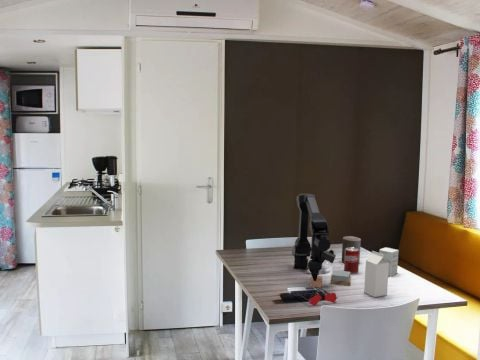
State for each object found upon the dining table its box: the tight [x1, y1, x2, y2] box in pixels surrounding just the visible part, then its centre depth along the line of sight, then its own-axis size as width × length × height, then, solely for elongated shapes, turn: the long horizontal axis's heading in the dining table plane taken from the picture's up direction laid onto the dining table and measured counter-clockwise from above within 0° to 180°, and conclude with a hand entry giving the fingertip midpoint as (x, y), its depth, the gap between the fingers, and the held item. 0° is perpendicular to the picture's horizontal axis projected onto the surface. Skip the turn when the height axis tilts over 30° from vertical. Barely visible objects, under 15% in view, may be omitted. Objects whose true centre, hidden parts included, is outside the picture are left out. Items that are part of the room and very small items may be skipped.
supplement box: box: [378, 246, 400, 277], centre depth 253 cm, size 7×7×13 cm
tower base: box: [330, 275, 352, 287], centre depth 239 cm, size 9×9×2 cm
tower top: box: [330, 269, 351, 282], centre depth 239 cm, size 8×8×2 cm
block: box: [309, 274, 323, 288], centre depth 234 cm, size 5×5×4 cm
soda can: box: [343, 248, 360, 275], centre depth 255 cm, size 7×7×12 cm
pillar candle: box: [341, 235, 362, 265], centre depth 271 cm, size 10×10×15 cm
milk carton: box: [363, 250, 389, 298], centre depth 222 cm, size 7×7×19 cm
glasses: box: [296, 287, 338, 307], centre depth 217 cm, size 14×16×5 cm
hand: (316, 277), depth 234 cm, fingers open, 9 cm apart
